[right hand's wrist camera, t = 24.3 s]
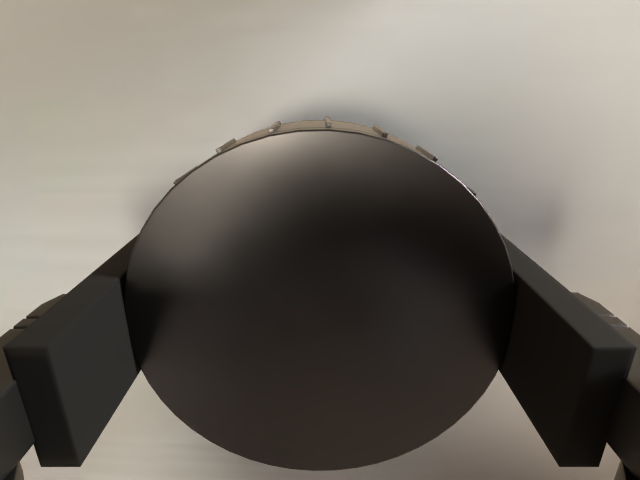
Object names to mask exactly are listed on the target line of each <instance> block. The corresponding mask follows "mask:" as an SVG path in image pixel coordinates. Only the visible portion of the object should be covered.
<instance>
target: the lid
mask: <svg viewBox="0 0 640 480" xmlns="http://www.w3.org/2000/svg"><path fill="white" fill-rule="evenodd" d="M216 152H217V154H215V155H214V156H212V157H211V158H209V159H208V160H206V161H205V162H203V163H202V164H201V165H199V166H198V167H197V166H196V167H195V168H193V169H192V170H190V171H189V172H187V173H186V174H184V175H183V176H181V177H180V178H178V179H177V180H176V181H175V182H174V184H175V186H173V187H172V188H171V189H170V190H169V192H168V193H167V194H166V195H165V196H164V197H163V199H162V200H161V201H160V202H159V203H158V205H157V206H156V207H155V208H154V210H153V211H152V213H151V215H150V216H149V218H148V219H147V221H146V222H145V224H144V226H143V228H142V229H141V231H140V234H139V236H138V238H137V241H136V243H135V246H134V248H133V251H132V253H131V257H130V261H129V266H128V270H127V274H126V282H125V294H124V305H125V315H126V321H127V326H128V331H129V336H130V341H131V346H132V349H133V351H134V354H135V356H136V359H137V362H138V364H139V366H140V368H141V370H142V372H143V373H144V375H145V377H146V379H147V381H148V383H149V384H150V385H151V387H152V388H153V389H154V391H155V392H156V394H157V395H158V396H159V398H160V399H161V400H162V401H163V402H164V404H165V405H166V406H167V407H168V408H169V409H170V410H171V411H172V412H173V413H174V414H175V415H176V416H177V417H178V418H179V419H180V420H182V421H183V422H184V423H185V424H186V425H188V426H189V427H190V428H191V429H192V430H194V431H195V432H197V433H198V434H200V435H201V436H203V437H204V438H206V439H207V440H209V441H210V442H212V443H214V444H216V445H218V446H220V447H222V448H224V449H226V450H228V451H230V452H232V453H235V454H237V455H240V456H242V457H245V458H247V459H250V460H254V461H257V462H261V463H264V464H268V465H272V466H278V467H284V468H289V469H299V470H312V471H320V470H341V469H350V468H358V467H362V466H367V465H371V464H376V463H380V462H383V461H386V460H389V459H392V458H395V457H398V456H400V455H403V454H405V453H407V452H410V451H412V450H414V449H416V448H418V447H420V446H422V445H424V444H425V443H427V442H429V441H431V440H432V439H434V438H436V437H437V436H439V435H440V434H442V433H443V432H444V431H446V430H447V429H448V428H450V427H451V426H453V425H454V424H455V423H456V422H457V421H458V420H459V419H460V418H462V417H463V416H464V415H465V414H466V413H467V412H468V411H469V410H470V409H471V408H472V407H473V406H474V404H475V403H476V402H477V401H478V400H479V398H480V397H481V396H482V395H483V394H484V392H485V391H486V389H487V388H488V386H489V385H490V383H491V382H492V380H493V379H494V377H495V375H496V373H497V371H498V369H499V367H500V365H501V363H502V361H503V359H504V357H505V354H506V351H507V348H508V344H509V340H510V336H511V331H512V325H513V320H514V314H515V285H514V278H513V271H512V265H511V262H510V259H509V256H508V252H507V249H506V246H505V243H504V241H503V239H502V237H501V235H500V233H499V231H498V229H497V227H496V225H495V223H494V221H493V220H492V218H491V217H490V215H489V214H488V212H487V211H486V209H485V208H484V207H483V205H482V204H481V202H480V201H479V200H478V199H477V198H476V197H475V195H476V194H475V192H474V191H472V190H471V189H470V188H468V187H467V186H465V185H464V184H463V183H462V182H461V181H460V180H459V179H457V178H456V177H455V176H454V175H452V174H451V173H450V172H448V171H447V170H446V169H445V168H443V167H442V166H441V165H440V164H438V163H437V162H436V161H437V160H438V158H436V157H435V156H433V155H432V154H430V153H428V152H427V151H425V150H424V149H422V148H421V147H419V146H417V147H416V148H414V147H412V146H411V145H409V144H407V143H405V142H404V141H402V140H400V139H398V138H397V137H394V136H392V135H389V134H388V133H386V132H385V131H383V130H382V129H381V128H379V127H378V126H375V125H374V127H373V128H370V127H366V126H362V125H358V124H354V123H349V122H340V121H331V120H330V117H325V120H314V121H299V122H292V123H286V124H281V123H280V121H279V122H276V123H275V124H273V125H272V126H271V127H270V128H267V129H263V130H260V131H257V132H255V133H252V134H250V135H248V136H246V137H244V138H242V139H240V140H238V141H236V140H235V139H232V140H230V141H229V142H227V143H226V144H224V145H223V146H221V147H219V148H218V149H216Z"/></svg>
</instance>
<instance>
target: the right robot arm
mask: <svg viewBox="0 0 640 480" xmlns="http://www.w3.org/2000/svg"><path fill="white" fill-rule="evenodd" d="M500 235H501V234H500ZM138 236H139V234H138V235H137V236H136V237H135V238H134V239H132V240H131V241H130V242H129V243H127V244H126V245H125V246H124V247H123V248H121V249H120V250H119V251H118V252H117V253H115V254H114V255H113V256H112V257H111V258H109V259H108V260H107V261H106V262H105V263H103V264H102V265H101V266H100V267H99V268H97V269H96V270H95V271H94V272H93V273H91V274H90V275H89V276H88V277H87V278H85V279H84V280H83V281H82V282H81V283H79V284H78V285H77V286H76V287H75V288H73V289H72V290H71V291H70V292H69V293H67V294H62V295H60V296H58V297H56V298H54V299H52V300H50V301H48V302H46V303H43V304H41V305H40V306H39V307H38V308H36V309H35V310H34V311H33V312H31V313H30V314H29V315H28V316H26V319H23V320H21V321H20V322H19V323H18V324H16V325H15V326H14V329H10V330H9V331H7V332H6V333H5V334H4V335H2V336H1V337H0V480H24V476H23V470H22V467H21V464H20V460H21V459H22V458H23V456H24V455H25V454H26V453H27V451H28V450H29V449H30V447H31V446H32V445H33V444H34V447H35V450H36V453H37V456H38V459H39V462H40V465H41V467H80V466H81V465H82V463H83V462H84V460H85V458H86V457H87V455H88V454H89V452H90V450H91V449H92V447H93V446H94V444H95V442H96V441H97V439H98V438H99V436H100V434H101V433H102V431H103V430H104V428H105V426H106V425H107V423H108V422H109V420H110V418H111V417H112V415H113V414H114V412H115V410H116V409H117V407H118V406H119V404H120V402H121V401H122V399H123V398H124V396H125V394H126V393H127V391H128V390H129V388H130V386H131V385H132V383H133V382H134V380H135V378H136V377H137V375H138V374H139V372H140V370H141V368H140V366H139V364H138V362H137V359H136V356H135V354H134V351H133V349H132V346H131V341H130V336H129V331H128V326H127V321H126V315H125V305H124V294H125V282H126V274H127V270H128V266H129V261H130V257H131V253H132V251H133V248H134V246H135V243H136V241H137V238H138ZM501 237H502V239H503V241H504V243H505V246H506V249H507V252H508V256H509V259H510V262H511V265H512V271H513V278H514V285H515V314H514V320H513V325H512V331H511V336H510V340H509V344H508V348H507V351H506V354H505V357H504V359H503V361H502V363H501V365H500V367H499V371H500V372H501V374H502V376H503V377H504V379H505V380H506V382H507V384H508V385H509V387H510V388H511V390H512V392H513V393H514V395H515V396H516V398H517V400H518V401H519V403H520V404H521V406H522V408H523V409H524V411H525V412H526V414H527V416H528V417H529V419H530V420H531V422H532V424H533V425H534V427H535V428H536V430H537V432H538V433H539V435H540V436H541V438H542V440H543V441H544V443H545V444H546V446H547V448H548V449H549V451H550V452H551V454H552V456H553V457H554V459H555V460H556V462H557V464H558V465H559V467H599V464H600V461H601V458H602V455H603V452H604V449H605V446H606V443H608V444H609V446H610V447H611V448H612V449H613V451H614V452H615V453H616V454H617V456H618V457H619V458H620V459H621V461H620V464H619V467H618V470H617V473H616V476H615V479H614V480H640V335H639V334H637V333H636V332H635V331H634V330H632V329H631V328H627V326H626V324H625V323H623V322H622V321H621V320H620V319H618V318H617V317H614V315H613V314H612V313H611V312H609V311H608V310H607V309H606V308H604V307H603V306H602V305H601V304H599V303H598V302H596V301H594V300H591V299H589V298H587V297H585V296H583V295H581V294H579V293H571V292H570V291H569V290H567V289H566V288H565V287H564V286H563V285H561V284H560V283H559V282H558V281H557V280H555V279H554V278H553V277H552V276H551V275H549V274H548V273H547V272H546V271H545V270H543V269H542V268H541V267H540V266H539V265H537V264H536V263H535V262H534V261H533V260H531V259H530V258H529V257H528V256H527V255H525V254H524V253H523V252H522V251H521V250H519V249H518V248H517V247H516V246H515V245H513V244H512V243H511V242H510V241H509V240H507V239H506V238H505V237H504V236H503V235H501Z"/></svg>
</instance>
